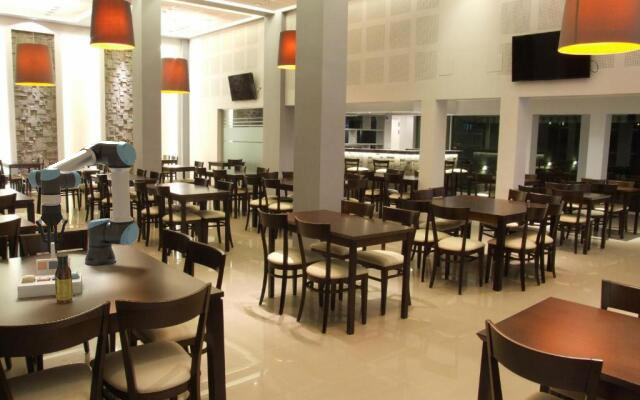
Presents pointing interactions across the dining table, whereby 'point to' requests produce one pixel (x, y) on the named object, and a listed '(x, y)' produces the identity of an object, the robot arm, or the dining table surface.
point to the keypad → (45, 287)
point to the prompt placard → (47, 266)
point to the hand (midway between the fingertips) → (53, 257)
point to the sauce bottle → (63, 280)
